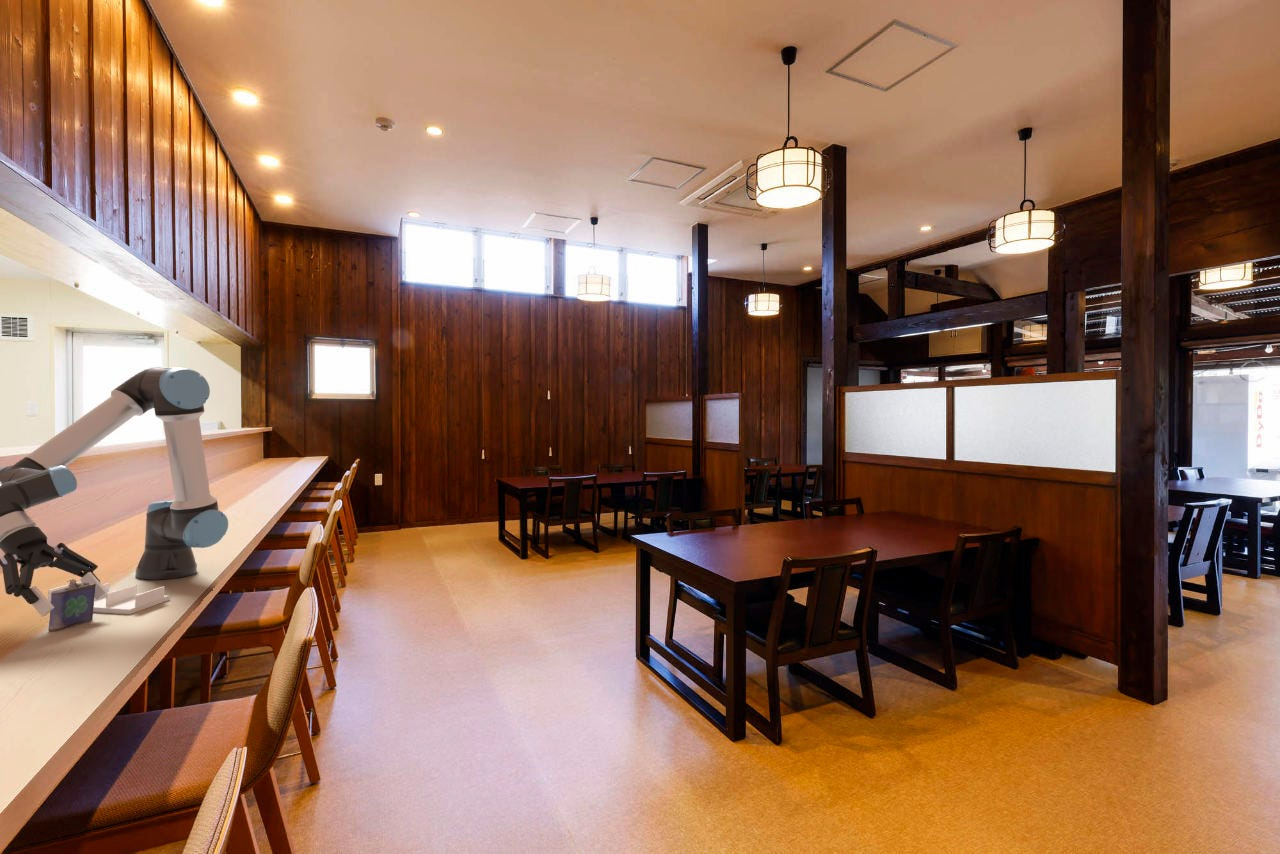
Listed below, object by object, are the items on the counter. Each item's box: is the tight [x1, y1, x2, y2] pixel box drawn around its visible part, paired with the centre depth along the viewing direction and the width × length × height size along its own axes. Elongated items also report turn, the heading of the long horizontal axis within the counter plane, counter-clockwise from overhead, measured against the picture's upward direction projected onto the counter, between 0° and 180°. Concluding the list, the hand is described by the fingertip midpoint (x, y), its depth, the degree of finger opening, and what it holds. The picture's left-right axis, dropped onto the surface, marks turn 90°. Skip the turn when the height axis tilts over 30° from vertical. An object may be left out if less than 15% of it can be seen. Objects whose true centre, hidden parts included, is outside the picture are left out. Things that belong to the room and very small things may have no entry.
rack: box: [47, 580, 171, 615], centre depth 159 cm, size 13×23×4 cm, turn 90°
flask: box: [48, 578, 96, 632], centre depth 143 cm, size 9×3×11 cm, turn 172°
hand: (76, 603), depth 143 cm, fingers open, 13 cm apart
